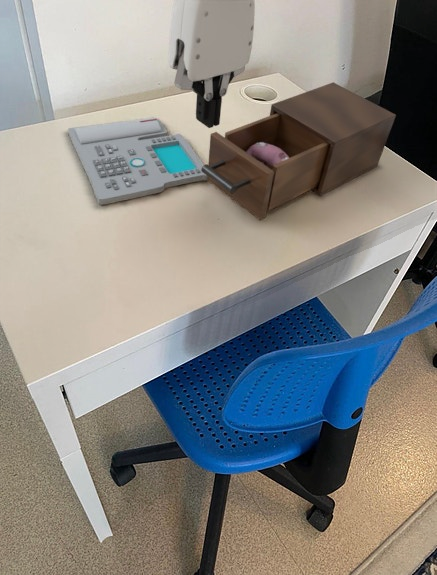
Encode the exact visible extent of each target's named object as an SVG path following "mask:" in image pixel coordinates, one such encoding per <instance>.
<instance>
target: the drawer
mask: <svg viewBox="0 0 437 575" xmlns="http://www.w3.org/2000/svg"><path fill="white" fill-rule="evenodd" d="M261 142H263V143H267V144H271V145H274V146H276V147H278V148H280V149H281V150H282V151H284V152H285V153H286V154H287V155H288V156H289V159H286V160H284V161H282V162H280V163H277V164H275V165H273V167H272V166H270V165H269V164H268V163H267V165H268V167H267V166H265V165H264V164H262V163H261V162H259V161H258V160H257V159H255V158H254V157H252V156H251V155H249V154H248V153H246V151H247V150H248V149H249V148H250V147H251V146H252V145H254V144H256V143H261ZM330 145H331V144H329V143H327V142H326V141H324V140H322V139H321V138H319V137H317V136H316V135H314V134H312V133H311V132H309V131H307V130H306V129H304V128H302V127H301V126H299V125H297V124H296V123H294V122H292V121H291V120H289V119H287V118H286V117H284V116H282V115H281V114H279V113H276V114H274V115H271V116H270V115H269V116H266V117H263V118H260V119H258V120H255V121H253V122H250V123H247V124H245V125H242V126H239V127H236V128H234V129H231V130H229V131H225V133H224V136H223V135H222V134H220V133H219V132H217V131H214V132H211V133H210V139H209V148H208V149H209V150H208V151H209V152H208V162H207V163H208V164H204V166H203V167H202V169H201V171H202V172H203V173H204V174H205V175H207V180H206V181H208V182H209V183H211V184H212V185H214V186H215V187H216V188H217V189H219V190H220V191H221V192H223V193H224V194H225V195H227V196H228V198H230V199H231V200H233V201H234V202H235V203H237V204H238V205H239V206H240V207H242V208H243V209H245V210H246V211H247V212H248V213H250V214H251V215H252V216H254V218H257V219H258V220H259V221H263V220H264V219H265V218H266V217H267V211H271V210H273V209H275V208H277V207H279V206H281V205H283V204H286V203H287V202H289V201H291V200H293V199H295V198H298V197H299V196H301V195H303V194H305V193H307V192H309V191H312V190H311V189H313V188H315V187H317V186H319V185H320V181H321V177H322V174H323V170H324V167H325V163H326V159H327V156H328V152H329V148H330Z"/></svg>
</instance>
